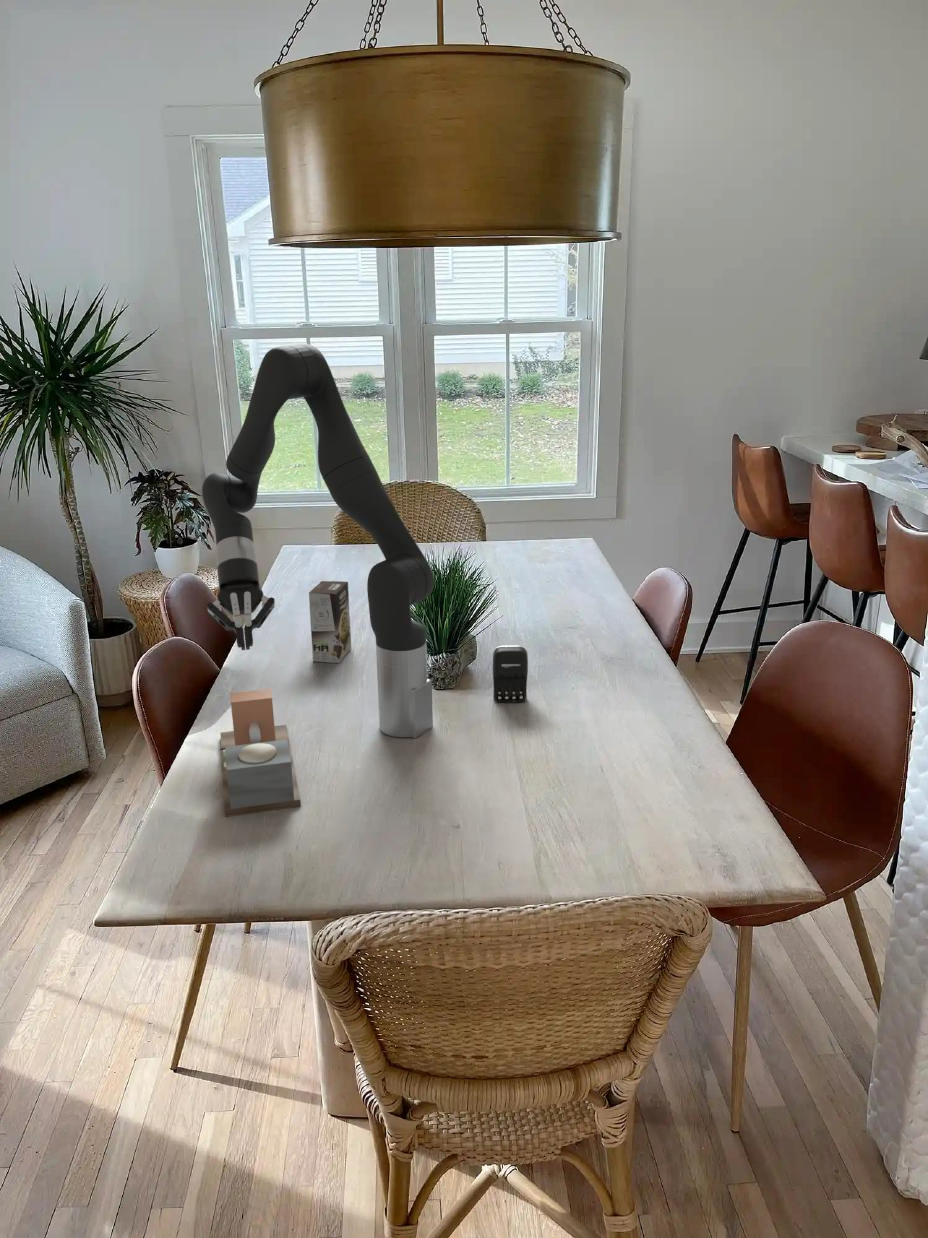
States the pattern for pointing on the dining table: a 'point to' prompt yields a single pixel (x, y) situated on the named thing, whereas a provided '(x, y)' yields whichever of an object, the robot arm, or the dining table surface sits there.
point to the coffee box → (330, 621)
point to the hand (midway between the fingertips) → (245, 648)
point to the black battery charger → (510, 674)
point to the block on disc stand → (252, 717)
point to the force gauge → (258, 775)
